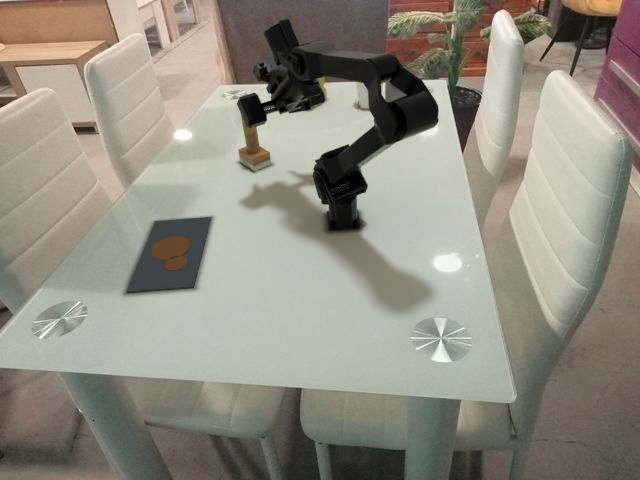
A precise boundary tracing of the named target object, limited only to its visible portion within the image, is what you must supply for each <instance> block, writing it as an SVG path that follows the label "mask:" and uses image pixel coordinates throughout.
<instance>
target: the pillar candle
mask: <svg viewBox="0 0 640 480" xmlns="http://www.w3.org/2000/svg"><path fill="white" fill-rule="evenodd" d="M405 69H406V68H405ZM406 70H408V71H409V72H411V73H412V74H414V75H415V76H417V77H418V78H420V79H421V80H422V81H423V74H422V73H421V72H420V71H418V70H415V69H414V70H413V69H406ZM384 88H385V89H384V99H385V100H386V102H389V101H392V100H395V99H398V98H401V97H404V96H407V95H406V94H405V93H403V92H402V91H400V90H399V89H397V88H396V87H394V86H393V85H392V84H391V83H390V82H389V81H388V82H385V83H384Z"/></svg>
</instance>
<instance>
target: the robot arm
mask: <svg viewBox="0 0 640 480" xmlns="http://www.w3.org/2000/svg"><path fill="white" fill-rule="evenodd" d="M263 38H264V40H265V42H266V45H267V48H268V50H269V52H270V54H271V56H269V57H268V56H267V57H263V58H262V59H261V60H259V61H257V63H256V64H255V65H254V66H253V68H252V73H253V74H252V75H253V76H254V77H255V79H256V80H257V82H259V83H260V82H264V83H265V84H267V86H266V88H265V89H266V91H267V94H269V95H270V100H268V101H264V102H262V101H261V99H260V97H259V94H257V93H256V92H251V93H248V94H245V95H242V96H239V98H238V100H237V101H236V106H237V108H238V110H239V112H241V113H240V116H241V115H242V117H243V119H244V121H245V124H246V126H247V127H249V128H253V127H260V126H263V125H265V124H266V122H267V121H268V116H267V115H270V114H274V113H276V112H278V114H279V115H283V114H286V113H288V114H294V113H301V112H306V111H310V110H313V109H315V108H318V107H321V106H323V105H324V104H325V102H326V100H325V94H324V92H323V90H322V87H321V85H320V83H319V81H318V78H322V77H324V78H331V79H335V80H336V79H337V80H342V81H348V82H353V83H354V82H355V83H356V82H359V83H363V84H364V85H365V87H366V88H367V90H368V100H369V109H368V110H369V112H370V114H371V116H372V118H373V125H372V127H370V128H369V129H368V130H367V131H366V132H364V133H363V134H362V135H360V137H359V138H357V139H356V140H355V141H353V142H352V143H351V144H349V143H347V144H345V145H342V146H339V147H336V148H333V149H331V150H328V151H326V152H323V153H322V154H321V155H320V157H318V158H317V159H315V160H314V162H315V164H314V166H313V169H312V171H313V172H312V179H313V183H314V186H315V191H316V194H317V196H318V199H319V200H320V204H322V205H326V206H328V211H326V218H327V228H328V231H343V230H355V229H356V230H357V229H361V227H362V226H361V225H362V223H361V219H360V215H359V209H358V196H360V195H363V194H366V193H367V191H368V187H369V184H368V183H367V181H366V178H365V177H364V175H363V173H362V167H363V166H365V165H367V164H368V163H369V162H371V161H372V160H374V159H375V158H376V157H378V156H379V155H380V154H382V153H384V152H385V151H386V150H388V149H389V148H391V147H392V146H393V145H395V144H396V143H398V142H401V141H404V140H406V139H409V138H411V137H414V136H417V135H419V134H421V133H424V132H427V131H429V130H431V129H434V128H436V126H437V125H438V123H439V120H440V119H439V113H440V112H439V111H440V110H439V105H438V103H437V100H436V98H435V97H434V96H433V94H432V93H431V91H430V89H428V87H427V85H426V84H425V82H424V81H423V79H422V80H421V79H420V78H418V77H417V76H415V75H414V74H412V73H411V72H409V71H408V70H409V69H407V70H406V68H405V67H404V66H403V64H402V63H401V62H400V60H399V59H398V57H397V56H396V55H395V54H393V53H388V52H384V53H373V52H364V51H351V50H342V49H338V48H337V45H336V44H334V43H332V42H329V41H327V40H319V41H316V42H314V41H313V42H306V43H302V44H301V43H300V40H299V38H298V37H297V33H296V32H295V29H294V27H293V24H292V22H291V21H290V18H284V19H280V20H278V22H277V23H276V24H274V25H271V27H269V28H268V29H267V30H265V31H264V32H263ZM388 81H389V82H390V83H391V84H392V85H393V86H394V87H396V88H397V89H399V90H400V91H402V92H403V93H405V94H406V95H407V96H404V97H401V98H398V99H395V100H392V101H389V102H386V100H385V96H384V95H383V90H382V91H381V84H382V83H383V84H385V82H388Z"/></svg>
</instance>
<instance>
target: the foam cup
mask: <svg viewBox="0 0 640 480" xmlns="http://www.w3.org/2000/svg"><path fill="white" fill-rule="evenodd" d="M355 85H356V93H357V98H358V106H359V107H360V108H362V109H368V110H369V100H368V90H367V88H366V87H365V85H364V84H363V83H359V82H355ZM383 86H384V83H382V84H381V91H382V92H383Z"/></svg>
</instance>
